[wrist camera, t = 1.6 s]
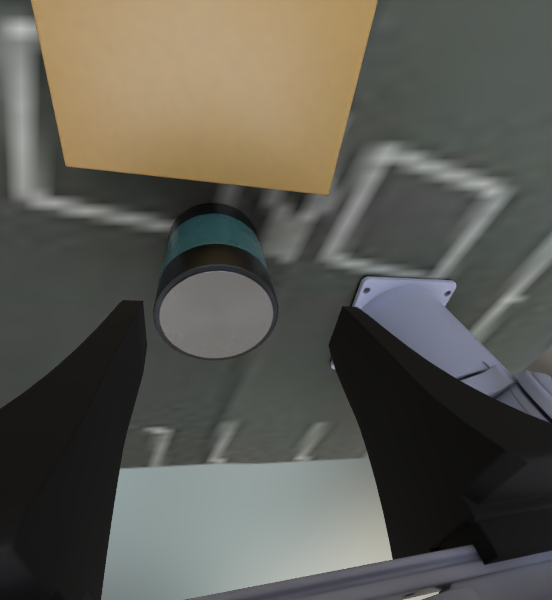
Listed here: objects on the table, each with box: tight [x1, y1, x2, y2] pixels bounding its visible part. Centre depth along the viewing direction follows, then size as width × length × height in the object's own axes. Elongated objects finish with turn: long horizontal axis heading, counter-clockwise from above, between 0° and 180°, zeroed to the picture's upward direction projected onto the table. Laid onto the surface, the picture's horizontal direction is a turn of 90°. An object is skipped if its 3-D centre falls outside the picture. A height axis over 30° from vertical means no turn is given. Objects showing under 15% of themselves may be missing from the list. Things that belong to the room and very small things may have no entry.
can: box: [153, 203, 278, 360], centre depth 17 cm, size 5×5×7 cm
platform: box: [31, 0, 378, 195], centre depth 12 cm, size 12×12×2 cm
